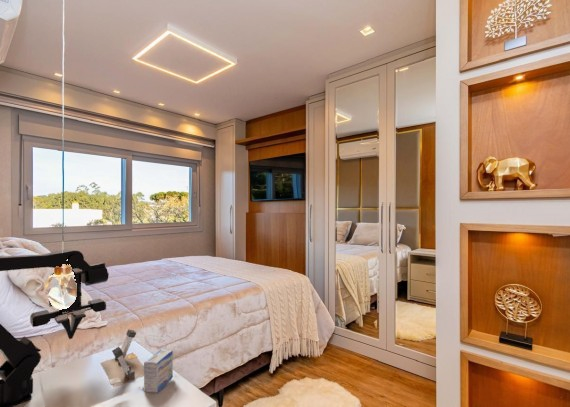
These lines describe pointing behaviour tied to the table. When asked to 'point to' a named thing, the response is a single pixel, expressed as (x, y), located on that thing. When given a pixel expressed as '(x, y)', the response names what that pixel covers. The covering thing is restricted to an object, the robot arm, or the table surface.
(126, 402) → the table surface
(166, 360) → the medicine box
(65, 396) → the table surface
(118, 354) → the near lever
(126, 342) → the far lever
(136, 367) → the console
